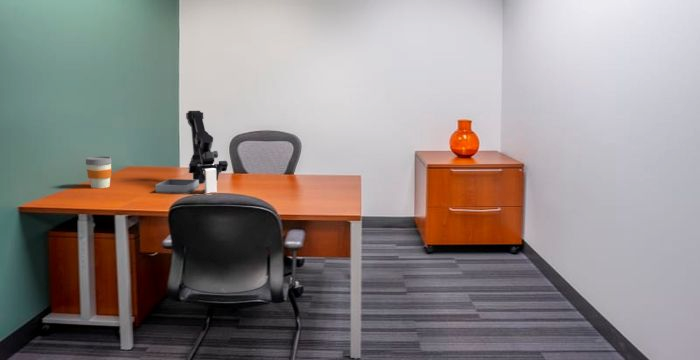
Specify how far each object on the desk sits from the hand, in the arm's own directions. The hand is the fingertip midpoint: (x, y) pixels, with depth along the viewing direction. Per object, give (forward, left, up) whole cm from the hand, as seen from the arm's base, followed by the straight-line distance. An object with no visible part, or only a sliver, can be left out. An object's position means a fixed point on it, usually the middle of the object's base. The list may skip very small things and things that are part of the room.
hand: (210, 180), depth 301 cm
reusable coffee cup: (-11, -63, -7) cm, 64 cm away
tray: (-7, -20, -7) cm, 22 cm away
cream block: (-1, -1, -7) cm, 7 cm away
